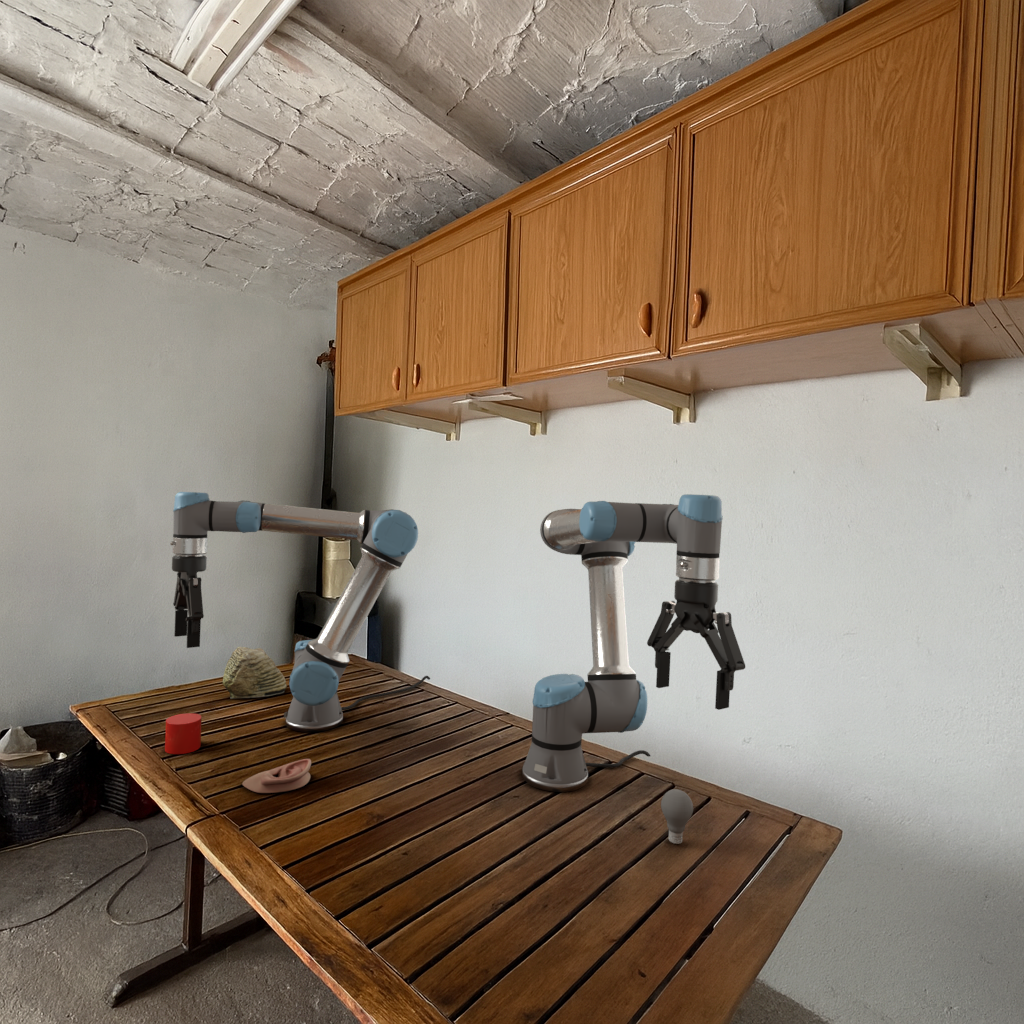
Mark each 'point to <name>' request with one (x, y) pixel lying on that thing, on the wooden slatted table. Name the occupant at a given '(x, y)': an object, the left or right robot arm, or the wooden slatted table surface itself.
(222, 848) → the wooden slatted table surface
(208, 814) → the wooden slatted table surface
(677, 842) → the light bulb
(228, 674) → the fossil
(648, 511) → the right robot arm
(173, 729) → the can
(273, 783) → the anatomical model
